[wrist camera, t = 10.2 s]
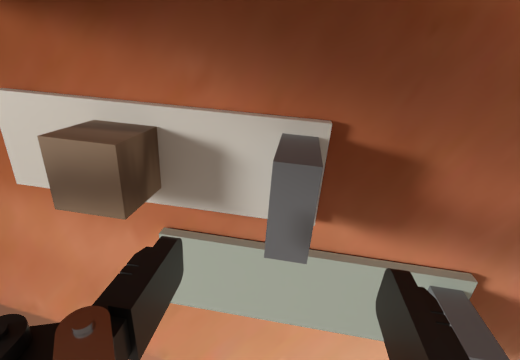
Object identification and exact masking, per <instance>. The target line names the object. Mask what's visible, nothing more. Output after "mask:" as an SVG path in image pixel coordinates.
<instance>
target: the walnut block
mask: <svg viewBox="0 0 520 360" xmlns="http://www.w3.org/2000/svg"><path fill="white" fill-rule="evenodd" d="M37 137H38V141H39V145H40V149H41V154H42V158H43V162H44V166H45V170H46V174H47V178H48V182H49V186H50V190H51V194H52V198H53V202H54V206H55V209H58V210H65V211H71V212H78V213H85V214H91V215H98V216H105V217H112V218H118V219H127V218H128V217H129V216H130V215H131V214H132V213H133V212H135V211H136V210H137V209H138V208H139V207H140V206H141V205H142V204H144V203H145V202H146V201H147V200H148V199H149V198H150V197H152V196H153V195H154V194H155V193H156V192H157V191H158V190H159V189H161V177H160V163H159V150H158V136H157V127H156V126H147V125H138V124H129V123H120V122H111V121H101V120H91V121H88V122H84V123H81V124H77V125H74V126H70V127H67V128H63V129H60V130H56V131H52V132H49V133H45V134H42V135H38V136H37Z"/></svg>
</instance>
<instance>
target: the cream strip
mask: <svg viewBox="0 0 520 360" xmlns="http://www.w3.org/2000/svg"><path fill="white" fill-rule="evenodd" d="M91 120H101V121H111V122H120V123H129V124H138V125H147V126H156V127H157V136H158V150H159V163H160V177H161V189H159V190H158V191H157V192H156V193H155V194H154V195H153V196H152V197H150V198H149V199H148V200H147V201H146V202H150V203H157V204H165V205H172V206H179V207H186V208H193V209H200V210H207V211H214V212H221V213H228V214H236V215H243V216H250V217H257V218H264V219H267V230H266V240H265V251H264V258H269V259H276V260H282V261H289V262H295V263H302V264H307V260H308V254H309V248H310V242H311V236H312V230H313V225H314V226H315V220H316V215H317V209H318V203H319V197H320V192H321V186H322V180H323V174H324V169H325V163H326V157H327V151H328V145H329V140H330V134H331V128H332V122H331V121H328V120H318V119H308V118H298V117H288V116H278V115H268V114H258V113H248V112H238V111H228V110H218V109H208V108H198V107H188V106H178V105H168V104H158V103H148V102H138V101H128V100H118V99H108V98H98V97H88V96H78V95H68V94H58V93H48V92H38V91H28V90H18V89H8V88H0V128H1V131H2V135H3V138H4V141H5V145H6V148H7V152H8V155H9V158H10V162H11V165H12V168H13V172H14V175H15V179H16V182H17V184H22V185H30V186H37V187H44V188H50V186H49V182H48V178H47V174H46V170H45V166H44V162H43V158H42V154H41V149H40V145H39V141H38V137H37V136H38V135H42V134H45V133H49V132H52V131H56V130H60V129H63V128H67V127H70V126H74V125H77V124H81V123H84V122H88V121H91Z"/></svg>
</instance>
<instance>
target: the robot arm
mask: <svg viewBox="0 0 520 360" xmlns="http://www.w3.org/2000/svg"><path fill="white" fill-rule="evenodd" d="M183 271H184V264H183V244H182V239H181V238H175V237H168V236H161V237H160V238H159V240H158V241H157V242H156V244H155V245H154V246H153V247H145V248H144V249H142V250H141V251H139V252H137V253H136V254H135V255H134V256H133V257H132V258H131V259H130V261H129V262H128V263H127V265H126V266H125V267H124V268H123V269H122V270H121V271H120V274H118V275H117V276H116V277H115V279H114V280H113V281H112V282H111V283H110V285H109V286H108V287H107V288H106V289H105V291H104V292H103V293H102V294H101V295H100V297H99V298H98V299H97V300H96V301H95V303H94V304H93V305H92V306H87V307H84V308H81V309H78V310H76V311H74V312H72V313H71V314H69V315H68V316H67V317H65V318H64V319H63V320H62V321H61V322H60V323H53V324H46V325H38V326H30V327H29V325H28V322H27V320H26V318H25V317H24V316H22V315H19V314H8V315H3V316H0V360H128V359H129V360H140V359H141V357H142V355H143V353H144V351H145V349H146V348H147V346H148V344H149V342H150V340H151V338H152V336H153V334H154V332H155V330H156V329H157V327H158V325H159V323H160V321H161V319H162V317H163V315H164V313H165V312H166V310H167V308H168V306H169V304H170V302H171V300H172V298H173V296H174V295H175V293H176V291H177V289H178V287H179V285H180V283H181V280H182V277H183ZM376 315H377V319H378V322H379V326H380V329H381V332H382V336H383V339H384V343H385V346H386V350H387V353H388V356H389V360H470V359H469V357H468V355H467V353H466V351H465V350H464V348H463V346H462V344H461V342H460V341H459V339H458V337H457V335H456V333H455V332H454V330H453V328H452V326H450V323H449V321H448V319H447V317H446V316H445V315H444V312H443V310H442V308H441V307H440V305H439V303H438V301H437V299H436V298H435V297H434V296H433V295H432V294H430V293H429V292H428V291H427V290H426V289H425V288H424V287H418V286H417V284H416V282H415V280H414V278H413V276H412V274H411V273H410V272H409V271H406V270H399V269H391V268H387V269H386V270H385V273H384V276H383V279H382V282H381V285H380V288H379V291H378V294H377V298H376Z"/></svg>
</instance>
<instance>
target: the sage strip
mask: <svg viewBox="0 0 520 360" xmlns="http://www.w3.org/2000/svg"><path fill="white" fill-rule="evenodd" d="M161 236H168V237H175V238H181V239H182V244H183V264H184V271H183V277H182V280H181V283H180V285H179V287H178V289H177V291H176V293H175V295H174V296H173V298H172V300H171V302H170V303H174V304H179V305H185V306H190V307H196V308H201V309H207V310H212V311H218V312H224V313H229V314H235V315H240V316H246V317H251V318H257V319H262V320H268V321H273V322H279V323H285V324H290V325H296V326H301V327H307V328H312V329H318V330H323V331H329V332H335V333H340V334H346V335H351V336H357V337H362V338H368V339H373V340H379V341H384V339H383V336H382V332H381V329H380V326H379V322H378V319H377V315H376V298H377V294H378V291H379V288H380V285H381V282H382V279H383V276H384V273H385V270H386V269H387V268H391V269H399V270H406V271H409V272H410V273H411V274H412V276H413V278H414V280H415V282H416V284H417V286H418V287H424V288H425V289H426V290H427V291H428V292H429V293H430V294H432V295H433V296H434V297H435V298H436V299H437V301H438V303H439V305H440V307H441V308H442V310H443V312H444V315H445V316H446V317H447V319H448V321H449V323H450V326H452V328H453V330H454V332H455V333H456V335H457V337H458V339H459V341H460V342H461V344H462V346H463V348H464V350H465V351H466V353H467V355H468V357H469V359H470V360H509V358H508V357H507V355H506V354H505V352H504V351H503V349H502V348H501V346H500V345H499V343H498V342H497V340H496V339H495V337H494V336H493V334H492V333H491V331H490V330H489V328H488V327H487V326H486V324H485V323H484V321H483V320H482V318H481V317H480V315H479V314H478V312H477V311H476V309H475V308H474V306H473V305H472V303H471V302H470V298H471V295H472V293H473V291H474V289H475V287H476V285H477V283H478V282H477V281H476V279H475V278H474V277H473V275H472V274H470V273H464V272H457V271H451V270H444V269H437V268H431V267H424V266H417V265H411V264H404V263H397V262H391V261H384V260H377V259H371V258H364V257H357V256H351V255H344V254H337V253H331V252H324V251H317V250H311V249H309V254H308V260H307V264H302V263H295V262H289V261H282V260H276V259H269V258H264V251H265V243H264V242H257V241H251V240H244V239H237V238H231V237H224V236H217V235H211V234H204V233H197V232H191V231H184V230H177V229H171V228H163V229H162V231H161V232H160V233H159V238H160V237H161Z"/></svg>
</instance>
